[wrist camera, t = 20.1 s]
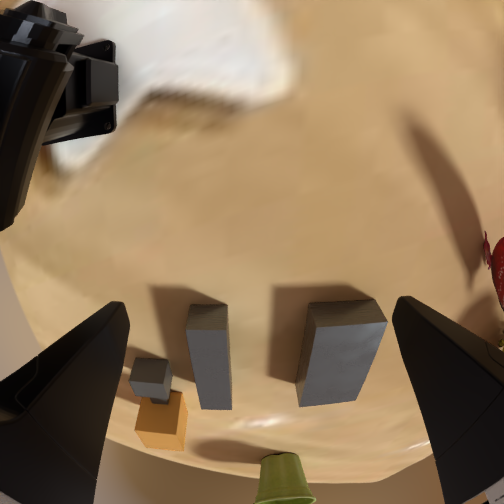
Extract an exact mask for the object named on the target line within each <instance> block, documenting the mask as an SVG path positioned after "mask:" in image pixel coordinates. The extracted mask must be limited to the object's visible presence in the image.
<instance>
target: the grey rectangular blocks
mask: <svg viewBox="0 0 504 504" xmlns="http://www.w3.org/2000/svg"><path fill="white" fill-rule="evenodd" d="M387 323H388V321H387V319H386V317H385V316H384V314H383V312H382V310H381V309H380V307H379V305H378V304H377V302H376V300H360V301H343V302H324V303H309V307H308V314H307V320H306V326H305V333H304V339H303V345H302V350H301V356H300V362H299V367H298V372H297V378H296V383H295V386H296V392H297V397H298V403H299V407H306V406H316V405H325V404H333V403H341V402H348V401H355V400H356V399H357V396H358V394H359V392H360V390H361V388H362V385H363V383H364V381H365V379H366V376H367V374H368V372H369V369H370V367H371V365H372V362H373V360H374V357H375V355H376V352H377V350H378V347H379V344H380V342H381V339H382V337H383V334H384V331H385V328H386V326H387ZM185 330H186V336H187V341H188V347H189V352H190V358H191V363H192V368H193V373H194V378H195V383H196V387H197V392H198V396H199V401H200V405H201V409H208V410H232V377H231V361H230V343H229V324H228V305H190V309H189V314H188V319H187V324H186V329H185Z"/></svg>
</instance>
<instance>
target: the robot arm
mask: <svg viewBox="0 0 504 504" xmlns="http://www.w3.org/2000/svg"><path fill="white" fill-rule="evenodd" d="M77 31H78V29H77V28H75V27H72V26H69V25H67V19H66V13H63V12H60V11H58V10H55V9H52V8H49V7H48V6H46V5H45V4H43V3H39V2H36V1H32V0H30V1H28V2H26V3H25V4H23V5H21V6H19V7H17V8H15V9H10V8H6V9H5V10H0V231H3V230H4V229H6V228H8V227H9V226H11V225H12V224H13V223H14V218H15V217H16V216H17V215H18V213H19V212H20V210H21V209H22V207H23V206H24V204H25V200H26V196H27V192H28V188H29V184H30V180H31V177H32V173H33V170H34V167H35V163H36V160H37V157H38V154H39V151H40V148H41V145H43V146H44V145H49V144H53V143H58V142H63V141H68V140H73V139H78V138H84V137H90V136H96V135H102V134H109V133H112V132H114V131H115V129H116V126H117V122H116V104H117V102H118V101H119V95H118V65H116V64H115V48H116V46H115V43H114V42H112V41H110V40H106V41H102V42H98V43H94V44H90V45H87V46H83V47H80V48H76V46H77V45H79V44H80V42H81V41H82V39H83V37H84V35H82V34H79V33H77ZM107 45H110V48H109V49H108V50H107V51H106V50H105V48H106V46H107ZM75 48H76V49H75ZM107 123H110V124H111V128H110V129H108V128H107ZM392 323H393V326H394V330H395V334H396V337H397V341H398V344H399V348H400V352H401V355H402V359H403V362H404V364H405V367H406V370H407V373H408V375H409V378H410V381H411V384H412V387H413V389H414V392H415V395H416V398H417V401H418V404H419V407H420V410H421V413H422V417H423V420H424V423H425V426H426V430H427V433H428V436H429V440H430V443H431V447H432V451H433V454H434V458H435V460H436V461H435V462H436V466H437V470H438V474H439V479H440V482H441V487H442V492H443V497H444V501H445V504H464V503H466V502H467V501H469V500H471V499H473V498H475V497H476V496H478V495H480V494H481V493H483V492H486V496H487V498H488V500H487V501H485V502H484V503H482V504H504V352H503V351H501V350H500V349H498V348H496V347H495V346H493V345H491V344H490V343H488V342H487V341H486V342H485V340H483V339H482V338H480V337H479V336H477V335H475V334H474V333H472V332H470V331H469V330H467V329H466V328H464V327H462V326H461V325H459V324H457V323H456V322H454V321H452V320H451V319H449V318H447V317H446V316H444V315H442V314H441V313H439V312H437V311H435V310H434V309H432V308H430V307H429V306H427V305H425V304H424V303H422V302H420V301H418V300H417V299H415V298H413V297H411V296H401V297H399V298H398V300H397V303H396V306H395V309H394V312H393V315H392ZM129 330H130V321H129V318H128V314H127V311H126V307H125V304H124V303H123V302H119V301H112V302H110V303H108V304H107V305H105V306H104V307H103V308H101V309H100V310H98V311H97V312H96V313H94V314H93V315H91V316H90V317H89V318H87V319H86V320H84V321H83V322H82V323H80V324H79V325H77V326H76V327H75V328H73V329H72V330H71V331H69V332H68V333H67V334H65V335H64V336H62V337H61V338H60V339H58V340H57V341H56V342H54V343H53V344H52V345H50V346H49V347H48V348H46V349H45V350H44V351H42V352H41V353H40V354H38V356H36V357H34V358H33V359H32V360H30V361H29V362H28V363H27V364H25V365H24V366H22V367H21V368H20V369H18V370H17V371H15V372H14V373H12V374H11V375H9V376H8V377H6V378H5V379H3V380H2V381H0V504H93V502H94V495H95V489H96V483H97V480H96V479H97V476H98V471H99V465H100V460H101V455H102V450H103V445H104V441H105V436H106V432H107V427H108V423H109V419H110V415H111V411H112V407H113V403H114V399H115V395H116V391H117V387H118V384H119V380H120V376H121V373H122V369H123V364H124V358H125V352H126V346H127V341H128V335H129Z"/></svg>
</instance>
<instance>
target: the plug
mask: <svg viewBox="0 0 504 504" xmlns="http://www.w3.org/2000/svg"><path fill="white" fill-rule="evenodd" d="M172 377H173V375H172V372H171V368H170V364H169V361H168V360H158V359H144V358H136V359H135V362H134V365H133V368H132V371H131V375H130V378H129V383H130V385H131V387H132V389H133V391H134V394H135V396H141V397H142V400H141V404H140V408H139V412H138V417H137V421H136V426H135V432H136V433H137V435H138V436H139V438H140V439H141V441H142V443H143V444H144V446H145V447H147V448H154V449H163V450H172V451H184V444H185V434H186V425H187V416H188V411H187V408H186V405H185V401H184V398H183V394H182V393H181V392H170V388H171V382H172Z"/></svg>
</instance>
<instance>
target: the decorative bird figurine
mask: <svg viewBox="0 0 504 504" xmlns="http://www.w3.org/2000/svg"><path fill="white" fill-rule="evenodd" d="M484 251H485V255H486V260H487V264H488V263H489V264H488V265H489V267H488V270H489V269H490V268H491V271H492V279H493V283H494V286H495V289H496V292H497V295H498V299H499V302H500V305H501V307H502V309H503V311H504V237H503V238H501V239H500V240H499V241H498V243H497V244H496V246H495V248H494V250H493V253H492V255H491V252H490V245H489V243H488V241H487V234H486V231H485V242H484Z"/></svg>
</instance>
